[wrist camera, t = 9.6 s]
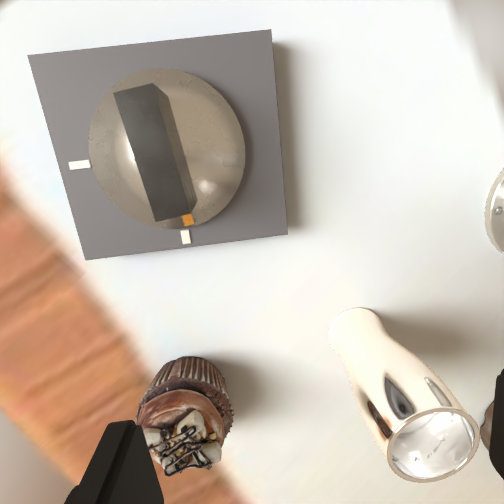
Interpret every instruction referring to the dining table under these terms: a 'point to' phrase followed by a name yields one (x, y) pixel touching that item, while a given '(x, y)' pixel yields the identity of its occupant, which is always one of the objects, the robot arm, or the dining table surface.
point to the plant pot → (487, 427)
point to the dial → (166, 148)
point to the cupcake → (186, 415)
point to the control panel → (207, 69)
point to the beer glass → (403, 401)
